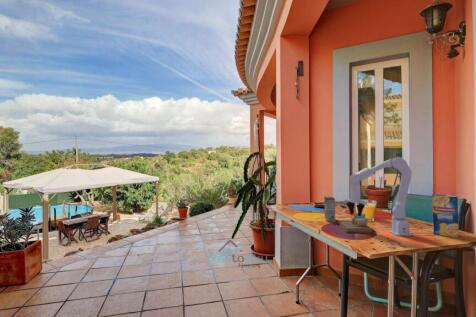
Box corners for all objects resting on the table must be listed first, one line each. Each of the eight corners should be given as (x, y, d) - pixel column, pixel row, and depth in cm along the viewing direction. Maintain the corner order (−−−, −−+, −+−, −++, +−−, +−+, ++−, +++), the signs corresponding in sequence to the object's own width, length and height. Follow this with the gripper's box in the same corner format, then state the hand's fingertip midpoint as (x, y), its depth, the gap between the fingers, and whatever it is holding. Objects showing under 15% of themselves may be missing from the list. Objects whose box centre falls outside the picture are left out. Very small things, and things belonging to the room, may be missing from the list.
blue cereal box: (458, 237, 137) (457, 196, 137) (433, 234, 144) (432, 195, 144) (457, 234, 143) (456, 195, 143) (432, 231, 149) (431, 194, 149)
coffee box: (324, 218, 188) (324, 196, 188) (333, 218, 186) (333, 196, 187) (326, 221, 179) (325, 198, 179) (335, 221, 178) (335, 198, 178)
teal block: (365, 218, 158) (365, 214, 158) (359, 218, 157) (359, 214, 157) (360, 216, 162) (360, 212, 162) (354, 217, 160) (354, 213, 161)
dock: (371, 232, 149) (371, 228, 149) (346, 232, 151) (346, 228, 151) (360, 224, 168) (360, 220, 168) (338, 224, 170) (338, 220, 170)
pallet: (367, 224, 158) (367, 217, 158) (358, 225, 155) (357, 219, 155) (360, 222, 163) (360, 216, 163) (351, 224, 160) (351, 217, 160)
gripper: (370, 194, 154) (370, 216, 154) (349, 191, 167) (350, 212, 167) (362, 194, 151) (363, 217, 151) (342, 192, 164) (342, 213, 163)
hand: (355, 215), depth 159 cm, fingers open, 5 cm apart
